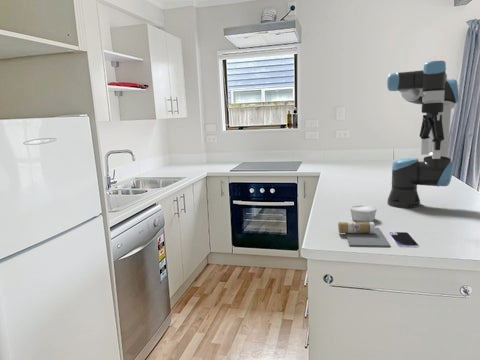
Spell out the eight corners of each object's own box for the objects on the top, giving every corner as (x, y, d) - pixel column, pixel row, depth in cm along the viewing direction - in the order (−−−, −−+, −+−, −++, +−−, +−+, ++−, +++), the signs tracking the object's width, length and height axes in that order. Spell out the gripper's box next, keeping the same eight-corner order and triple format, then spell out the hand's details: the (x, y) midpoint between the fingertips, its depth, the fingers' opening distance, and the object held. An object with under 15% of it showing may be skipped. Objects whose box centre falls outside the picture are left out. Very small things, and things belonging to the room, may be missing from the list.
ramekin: (362, 214, 167) (363, 203, 166) (381, 220, 157) (382, 208, 156) (344, 218, 162) (344, 207, 161) (363, 224, 152) (363, 212, 151)
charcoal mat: (343, 228, 148) (343, 227, 148) (378, 229, 145) (378, 227, 145) (349, 246, 128) (349, 244, 128) (390, 247, 126) (390, 245, 126)
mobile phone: (397, 245, 126) (387, 231, 140) (397, 247, 126) (387, 233, 140) (420, 245, 124) (407, 231, 139) (420, 248, 125) (407, 234, 139)
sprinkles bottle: (338, 222, 139) (375, 222, 136) (338, 221, 143) (373, 221, 141) (339, 234, 139) (375, 234, 136) (338, 233, 143) (373, 233, 140)
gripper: (412, 103, 151) (410, 153, 155) (433, 102, 127) (430, 160, 131) (431, 102, 150) (429, 152, 154) (456, 100, 126) (452, 160, 130)
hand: (429, 156), depth 142 cm, fingers open, 13 cm apart
